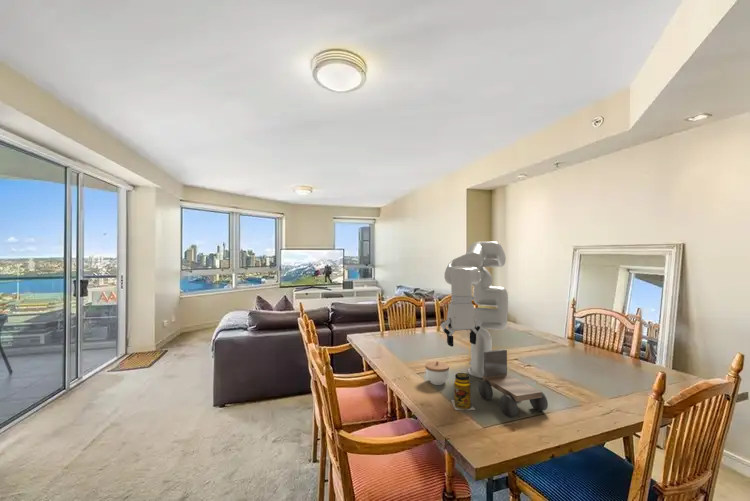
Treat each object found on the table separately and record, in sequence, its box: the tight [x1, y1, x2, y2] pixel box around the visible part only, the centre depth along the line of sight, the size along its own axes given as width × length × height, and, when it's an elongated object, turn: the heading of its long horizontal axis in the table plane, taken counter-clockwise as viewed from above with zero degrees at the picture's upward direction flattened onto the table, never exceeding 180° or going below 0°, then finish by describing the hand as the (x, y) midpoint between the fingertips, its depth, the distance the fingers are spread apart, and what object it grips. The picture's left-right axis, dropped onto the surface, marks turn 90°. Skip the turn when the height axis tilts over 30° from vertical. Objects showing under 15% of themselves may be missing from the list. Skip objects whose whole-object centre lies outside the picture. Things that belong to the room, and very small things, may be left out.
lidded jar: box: [424, 360, 450, 386], centre depth 150 cm, size 11×11×9 cm
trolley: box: [477, 348, 549, 418], centre depth 128 cm, size 21×15×18 cm
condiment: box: [450, 372, 476, 411], centre depth 128 cm, size 7×8×12 cm
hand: (461, 344), depth 128 cm, fingers open, 9 cm apart
